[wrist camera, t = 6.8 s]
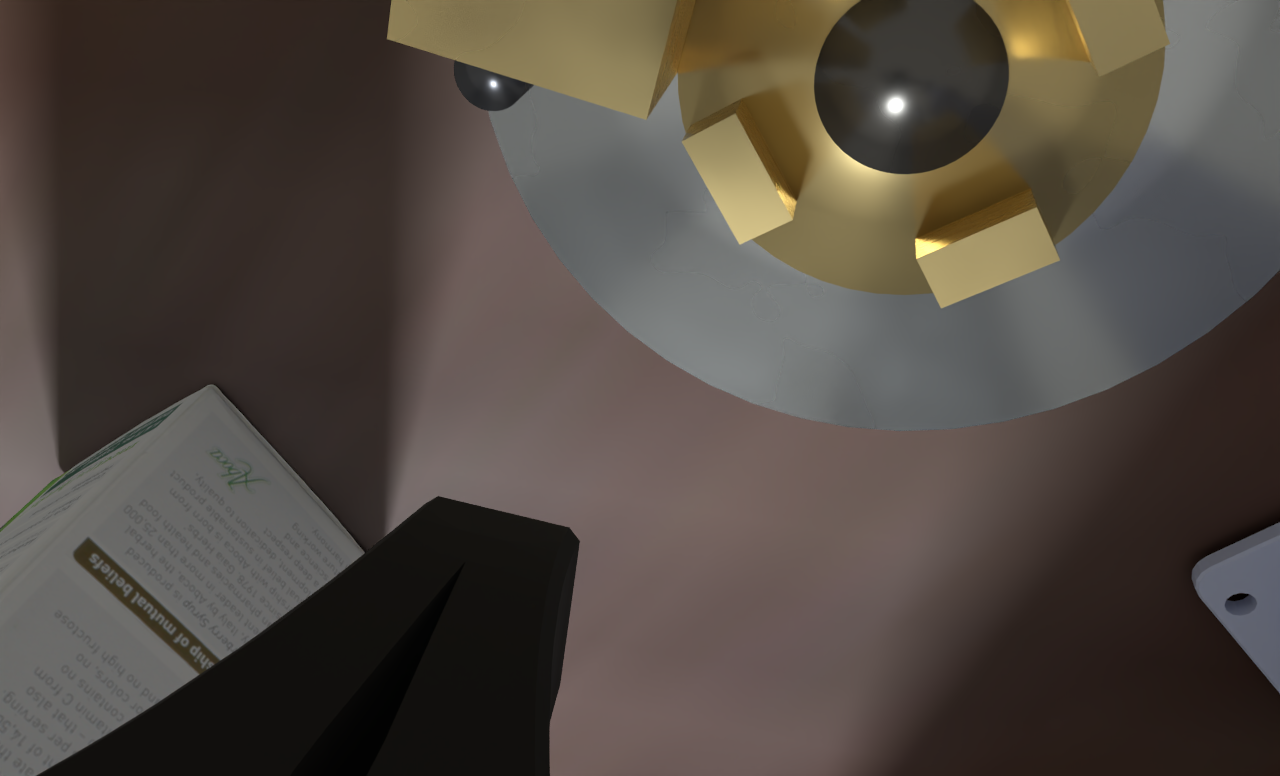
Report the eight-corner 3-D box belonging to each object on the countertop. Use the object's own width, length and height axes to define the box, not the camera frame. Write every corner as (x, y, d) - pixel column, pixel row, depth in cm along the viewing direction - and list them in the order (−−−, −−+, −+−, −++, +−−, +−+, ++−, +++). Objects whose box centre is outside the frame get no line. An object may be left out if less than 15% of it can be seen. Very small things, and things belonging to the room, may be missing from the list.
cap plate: (1577, 77, 15) (1743, 157, 12) (833, 510, 21) (823, 633, 18) (1037, -839, 12) (1085, -1032, 9) (340, -16, 18) (232, 31, 15)
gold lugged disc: (918, -487, 12) (927, -568, 9) (1214, 114, 15) (1301, 214, 12) (444, -83, 16) (328, -39, 12) (753, 354, 18) (722, 484, 15)
